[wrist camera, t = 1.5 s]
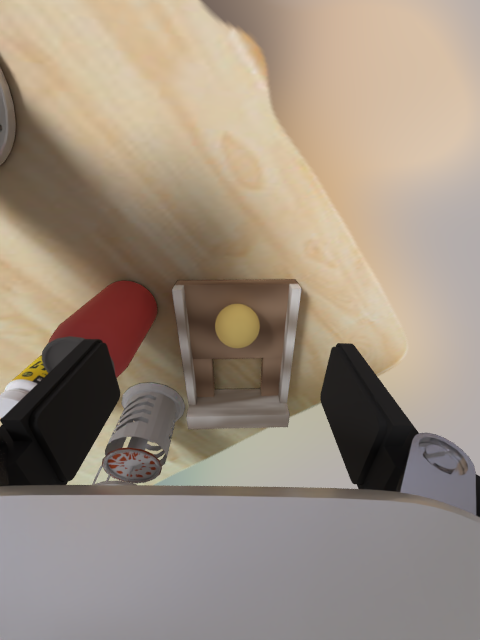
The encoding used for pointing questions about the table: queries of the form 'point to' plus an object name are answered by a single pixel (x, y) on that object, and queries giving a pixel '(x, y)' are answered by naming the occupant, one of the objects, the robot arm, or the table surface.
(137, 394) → the french press
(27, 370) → the supplement bottle
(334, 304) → the table surface
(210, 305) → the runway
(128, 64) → the table surface
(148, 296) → the beer can
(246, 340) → the ball
